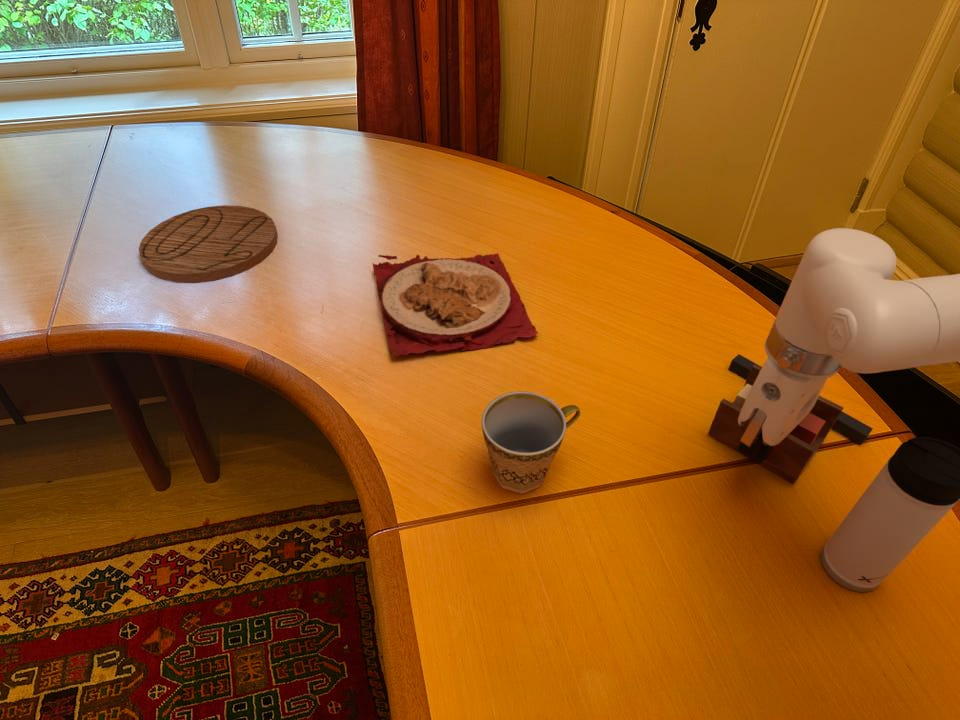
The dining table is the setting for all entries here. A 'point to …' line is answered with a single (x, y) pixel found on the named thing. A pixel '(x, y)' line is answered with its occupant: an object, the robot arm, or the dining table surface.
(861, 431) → the edge rail
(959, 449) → the travel mug
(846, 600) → the dining table surface
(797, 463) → the open wooden box
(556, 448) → the ceramic cup
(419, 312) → the plate with food
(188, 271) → the trivet
